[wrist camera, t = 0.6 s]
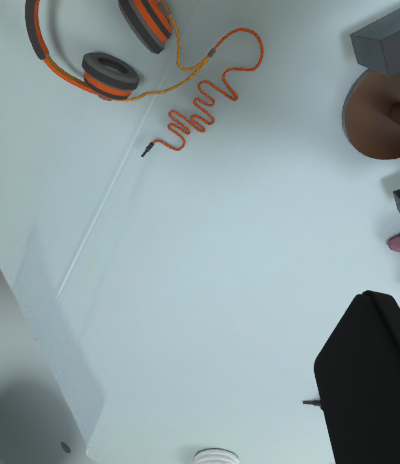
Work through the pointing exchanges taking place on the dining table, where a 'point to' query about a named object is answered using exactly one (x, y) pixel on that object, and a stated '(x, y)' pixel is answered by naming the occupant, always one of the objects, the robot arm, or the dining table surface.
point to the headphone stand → (374, 115)
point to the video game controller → (394, 244)
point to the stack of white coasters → (215, 457)
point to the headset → (380, 51)
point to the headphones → (120, 74)
